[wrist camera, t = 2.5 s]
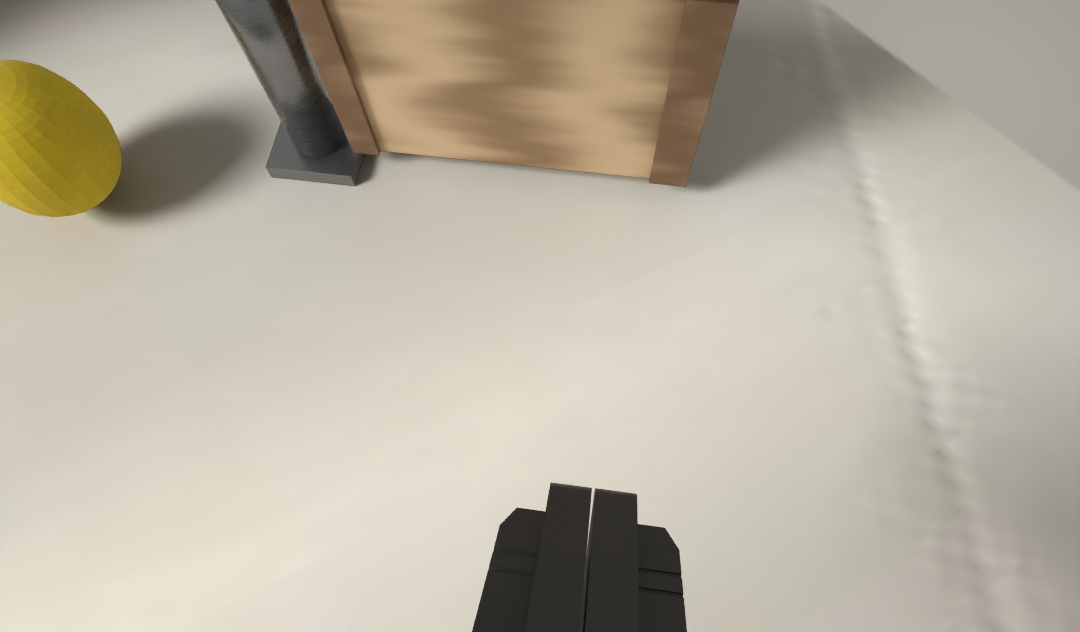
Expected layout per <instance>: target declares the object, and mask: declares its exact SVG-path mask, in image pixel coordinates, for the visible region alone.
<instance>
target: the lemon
mask: <svg viewBox="0 0 1080 632" xmlns="http://www.w3.org/2000/svg"><path fill="white" fill-rule="evenodd" d="M121 167H122V156H121V147H120V143H119V140H118V138H117V136H116V133H115V131H114V129H113V127H112V125H111V123H110V122H109V120H108V118H107V117H106V115H105V114H104V113H103V112H102V110H101V109H100V108H99V107H98V106H97V105H96V104H95V103H94V102H93V101H92V100H91V99H90V98H89V97H88V96H87V95H86V94H85V93H84V92H83V91H81V90H80V89H79V88H78V87H76V86H75V85H74V84H72V83H71V82H69V81H68V80H66V79H65V78H63V77H61V76H59V75H58V74H56V73H54V72H52V71H50V70H48V69H46V68H44V67H41V66H39V65H35V64H32V63H27V62H22V61H16V60H0V201H2V202H3V203H6V204H8V205H10V206H12V207H15V208H17V209H20V210H22V211H25V212H28V213H30V214H35V215H41V216H50V217H61V216H70V215H75V214H79V213H82V212H85V211H87V210H89V209H91V208H93V207H95V206H97V205H98V204H99V203H101V202H102V201H103V200H104V199H106V198H107V196H108V195H109V194H110V193H111V192H112V190H113V189H114V187H115V185H116V183H117V181H118V179H119V176H120V172H121Z"/></svg>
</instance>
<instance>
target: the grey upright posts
mask: <svg viewBox="0 0 1080 632" xmlns="http://www.w3.org/2000/svg"><path fill="white" fill-rule="evenodd" d="M216 2H217V4H218V6H219V8H220V10H221V11H222V13H223V15H224V17H225V19H226V21H227V23H228V24H229V26H230V28H231V30H232V32H233V34H234V35H235V37H236V39H237V41H238V43H239V45H240V46H241V48H242V50H243V52H244V54H245V56H246V57H247V59H248V61H249V63H250V65H251V67H252V68H253V70H254V72H255V74H256V76H257V78H258V79H259V81H260V83H261V85H262V87H263V89H264V90H265V92H266V94H267V96H268V98H269V100H270V101H271V103H272V105H273V107H274V109H275V111H276V112H277V114H278V116H279V118H280V120H281V123H280V126H279V129H278V132H277V135H276V138H275V141H274V144H273V147H272V150H271V153H270V156H269V159H268V162H267V165H266V169H267V170H268V172H269V173H270V175H271V176H272V177H276V178H285V179H294V180H304V181H313V182H323V183H332V184H342V185H351V186H355V184H356V181H357V177H358V173H359V170H360V166H361V163H362V159H363V155H364V154H362V153H353V150H352V148H351V146H350V143H349V141H348V139H347V136H346V134H345V132H344V129H343V127H342V125H341V123H340V120H339V118H338V116H337V113H336V111H335V109H334V106H333V104H332V102H331V99H330V97H329V95H328V92H327V90H326V88H325V85H324V83H323V81H322V78H321V76H320V74H319V71H318V69H317V67H316V64H315V62H314V60H313V57H312V55H311V53H310V50H309V48H308V46H307V43H306V41H305V39H304V36H303V34H302V32H301V29H300V27H299V25H298V22H297V20H296V18H295V15H294V13H293V11H292V8H291V6H290V4H289V1H288V0H216Z"/></svg>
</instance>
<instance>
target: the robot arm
mask: <svg viewBox="0 0 1080 632" xmlns="http://www.w3.org/2000/svg"><path fill="white" fill-rule="evenodd" d="M591 491H592V488H588V487H580V486H573V485H565V484H558V483H551V484H550V490H549V495H548V501H547V507H546V512H544V511H537V510H530V509H523V508H516V509H515V510H514V511H513V512H512V513H511V514H510V515H509V516H508V517H507V518H506V519H505V521H504V522H503V523H502V524H501V525H500V527H499V531H498V535H497V538H496V542H495V546H494V552H493V554H492V558H491V561H490V565H489V570H488V573H487V577H486V581H485V584H484V588H483V592H482V596H481V600H480V604H479V607H478V611H477V615H476V619H475V623H474V627H473V630H472V632H687V628H686V618H685V607H684V598H683V586H682V578H681V564H680V554H679V549H678V547H677V546H676V544H675V543H674V541H673V540H672V538H671V537H670V535H669V534H668V532H667V531H666V529H665V528H662V527H655V526H647V525H640V524H637V494H634V493H626V492H619V491H611V490H604V489H596V488H595V492H594V500H593V507H592V515H591V523H590V531H589V538H588V527H589V515H590V503H591ZM587 539H588V546H587ZM586 551H587V554H586Z"/></svg>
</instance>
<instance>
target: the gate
mask: <svg viewBox="0 0 1080 632" xmlns="http://www.w3.org/2000/svg"><path fill="white" fill-rule="evenodd" d="M288 1H289V4H290V6H291V8H292V11H293V13H294V15H295V18H296V20H297V22H298V25H299V27H300V29H301V32H302V34H303V36H304V39H305V41H306V43H307V46H308V48H309V50H310V53H311V55H312V57H313V60H314V62H315V64H316V67H317V69H318V71H319V74H320V76H321V78H322V81H323V83H324V85H325V88H326V90H327V92H328V95H329V97H330V99H331V102H332V104H333V106H334V109H335V111H336V113H337V116H338V118H339V120H340V123H341V125H342V127H343V129H344V132H345V134H346V136H347V139H348V141H349V143H350V146H351V148H352V150H353V153H362V154H372V155H379V154H380V151H388V152H398V153H408V154H417V155H427V156H437V157H447V158H456V159H466V160H476V161H486V162H496V163H505V164H515V165H525V166H535V167H545V168H554V169H564V170H574V171H584V172H593V173H603V174H613V175H623V176H633V177H642V178H650V179H649V183H654V184H664V185H674V186H683V187H686V184H687V180H688V177H689V173H690V170H691V166H692V163H693V159H694V156H695V152H696V149H697V146H698V142H699V139H700V135H701V132H702V128H703V125H704V121H705V118H706V114H707V111H708V107H709V104H710V100H711V97H712V93H713V90H714V87H715V83H716V80H717V76H718V73H719V69H720V66H721V62H722V59H723V55H724V52H725V48H726V45H727V41H728V38H729V35H730V31H731V28H732V24H733V21H734V17H735V14H736V10H737V7H738V3H739V0H288Z"/></svg>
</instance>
